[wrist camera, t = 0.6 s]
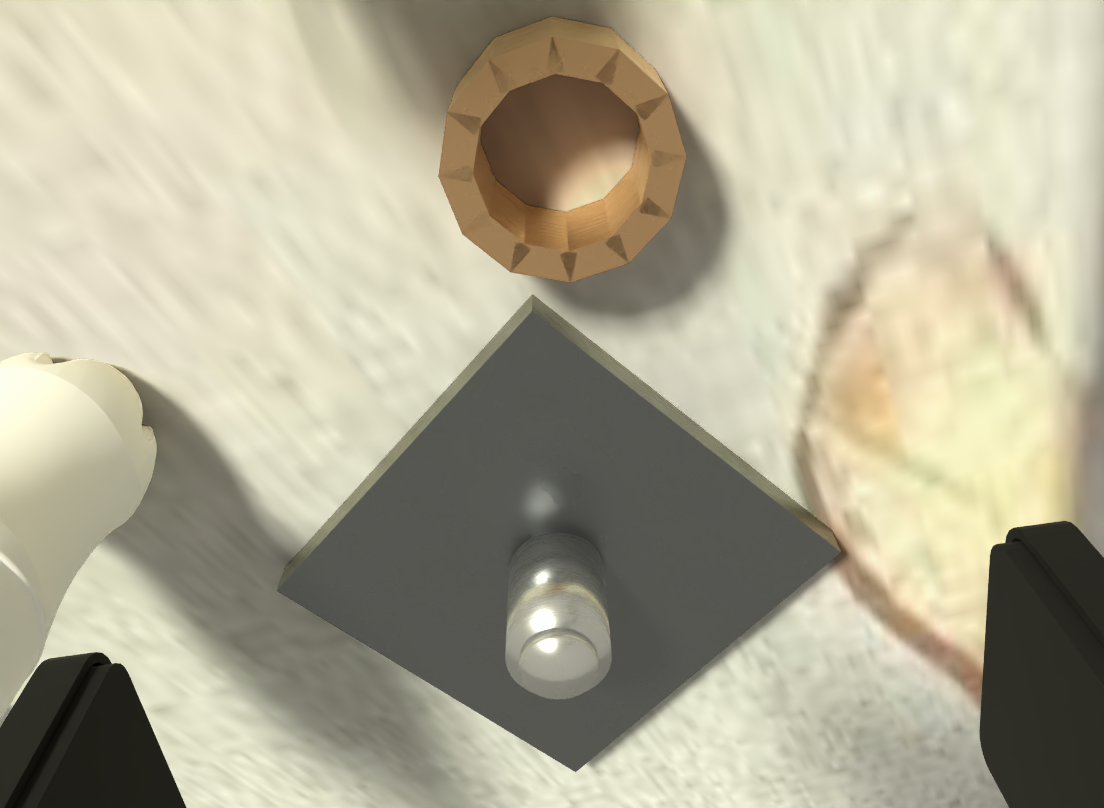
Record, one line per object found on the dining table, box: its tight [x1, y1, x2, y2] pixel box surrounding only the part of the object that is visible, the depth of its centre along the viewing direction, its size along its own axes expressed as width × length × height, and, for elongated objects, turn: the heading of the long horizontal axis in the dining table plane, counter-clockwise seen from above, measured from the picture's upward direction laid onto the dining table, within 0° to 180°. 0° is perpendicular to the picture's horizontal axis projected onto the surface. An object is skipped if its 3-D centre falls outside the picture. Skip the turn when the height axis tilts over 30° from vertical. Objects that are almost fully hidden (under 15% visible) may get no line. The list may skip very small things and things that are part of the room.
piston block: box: [277, 295, 841, 772], centre depth 39 cm, size 16×16×7 cm
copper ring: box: [438, 16, 687, 283], centre depth 32 cm, size 7×7×4 cm
